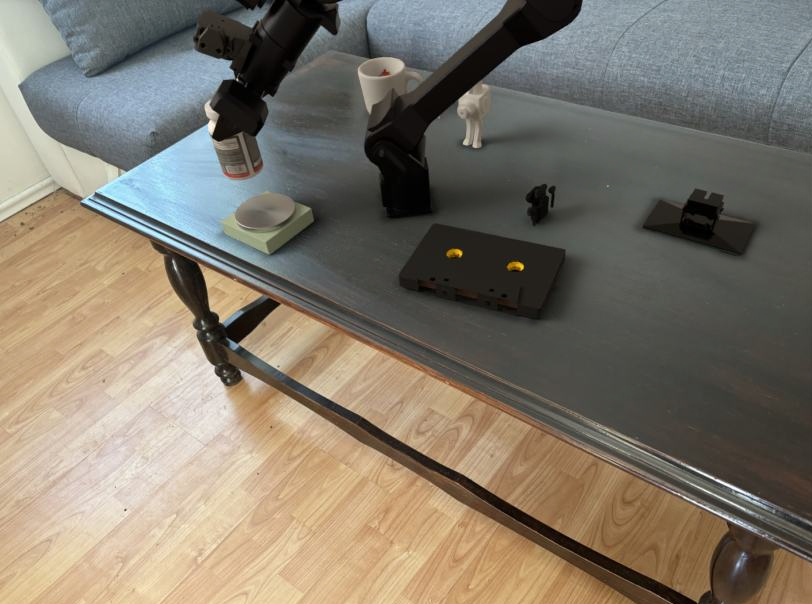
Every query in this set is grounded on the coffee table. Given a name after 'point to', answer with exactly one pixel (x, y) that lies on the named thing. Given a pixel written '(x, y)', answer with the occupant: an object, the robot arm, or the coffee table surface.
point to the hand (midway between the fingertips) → (220, 127)
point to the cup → (384, 79)
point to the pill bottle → (235, 152)
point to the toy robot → (474, 112)
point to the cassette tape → (484, 270)
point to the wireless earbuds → (539, 202)
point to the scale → (267, 221)
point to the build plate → (700, 223)
